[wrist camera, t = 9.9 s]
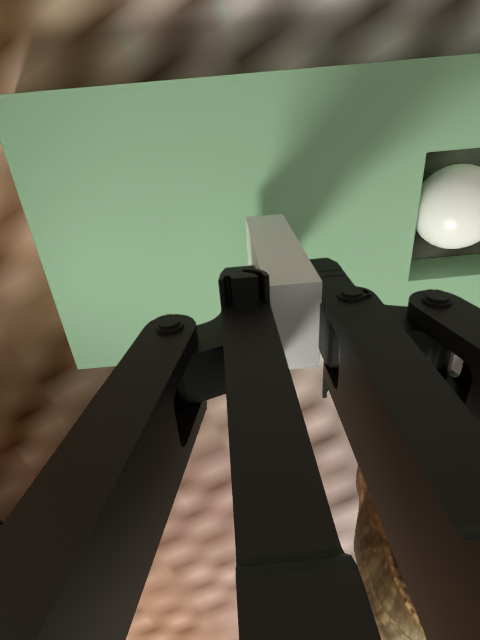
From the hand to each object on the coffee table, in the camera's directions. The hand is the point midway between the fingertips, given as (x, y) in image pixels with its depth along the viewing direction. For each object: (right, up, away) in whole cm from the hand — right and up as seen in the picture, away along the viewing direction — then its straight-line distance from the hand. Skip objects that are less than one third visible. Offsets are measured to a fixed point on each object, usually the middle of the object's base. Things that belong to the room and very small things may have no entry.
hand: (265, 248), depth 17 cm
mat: (+3, +2, +3) cm, 5 cm away
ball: (+8, +2, +1) cm, 9 cm away
